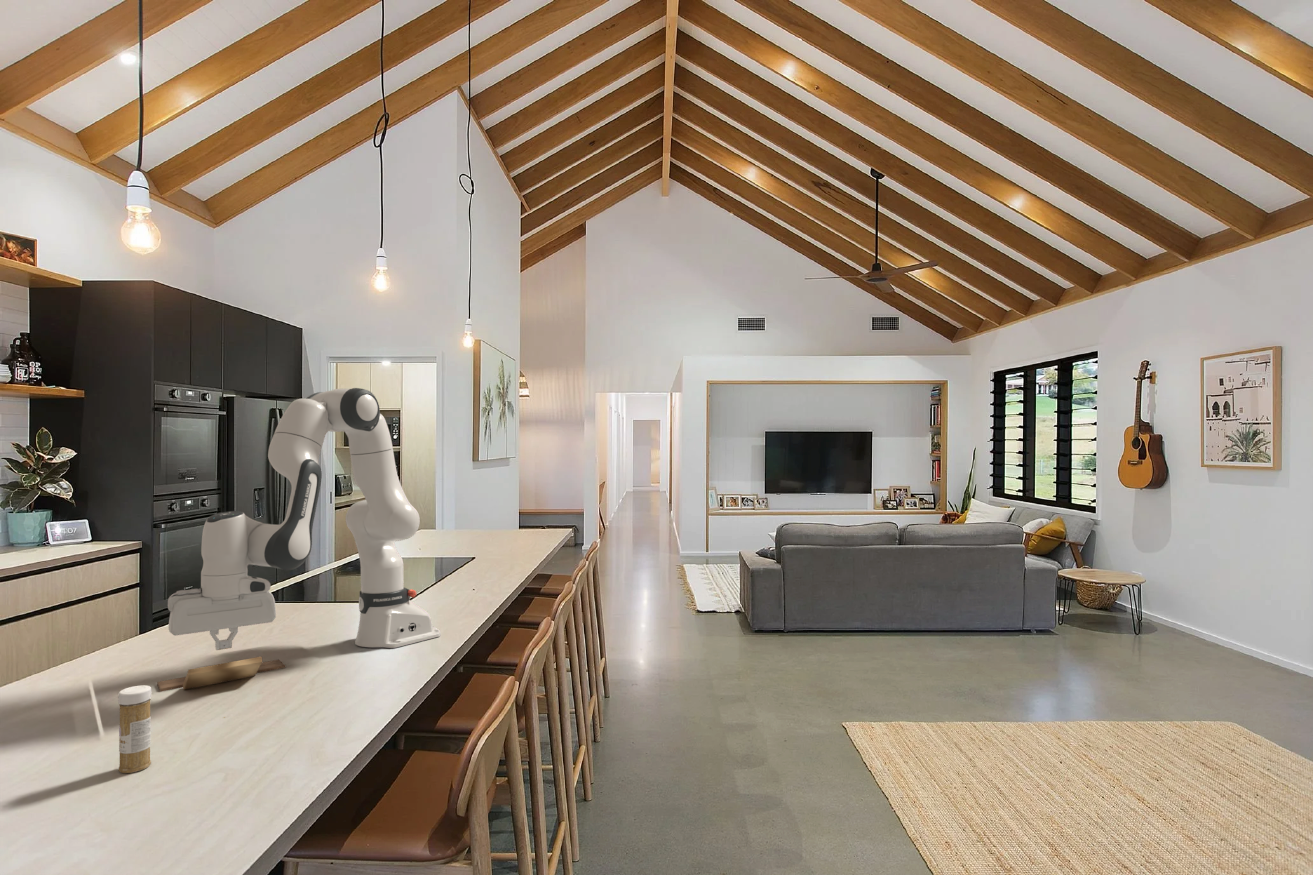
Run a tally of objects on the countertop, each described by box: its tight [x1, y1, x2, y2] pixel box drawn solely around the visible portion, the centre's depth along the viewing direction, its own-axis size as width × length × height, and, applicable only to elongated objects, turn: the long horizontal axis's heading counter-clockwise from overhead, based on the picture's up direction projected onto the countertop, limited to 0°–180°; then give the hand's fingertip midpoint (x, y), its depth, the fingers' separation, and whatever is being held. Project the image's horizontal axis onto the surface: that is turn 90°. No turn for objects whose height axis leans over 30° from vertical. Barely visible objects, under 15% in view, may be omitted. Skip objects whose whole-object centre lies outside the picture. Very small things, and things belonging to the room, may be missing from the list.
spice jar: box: [117, 684, 152, 774], centre depth 122 cm, size 5×5×14 cm
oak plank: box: [182, 656, 263, 690], centre depth 161 cm, size 14×10×1 cm
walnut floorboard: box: [156, 659, 286, 693], centre depth 169 cm, size 25×6×1 cm, turn 131°
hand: (223, 648), depth 159 cm, fingers closed
